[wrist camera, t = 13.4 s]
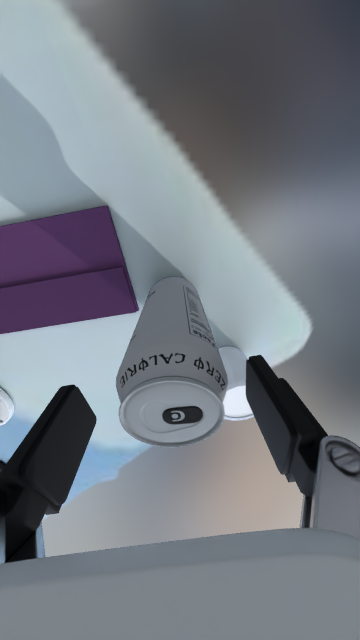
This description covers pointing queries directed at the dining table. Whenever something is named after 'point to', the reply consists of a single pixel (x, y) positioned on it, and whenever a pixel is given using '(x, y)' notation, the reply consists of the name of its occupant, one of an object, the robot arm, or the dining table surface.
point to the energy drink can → (172, 370)
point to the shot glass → (235, 384)
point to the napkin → (62, 271)
